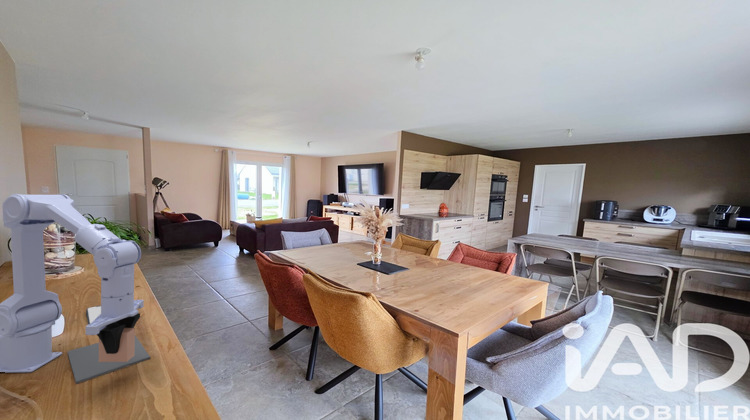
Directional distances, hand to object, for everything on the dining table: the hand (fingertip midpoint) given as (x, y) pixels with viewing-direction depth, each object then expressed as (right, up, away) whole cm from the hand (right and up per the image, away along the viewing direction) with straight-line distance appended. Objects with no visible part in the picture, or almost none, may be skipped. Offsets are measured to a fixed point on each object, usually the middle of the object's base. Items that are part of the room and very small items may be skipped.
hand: (117, 349), depth 67 cm
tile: (0, -2, 0) cm, 2 cm away
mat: (-12, -7, +10) cm, 17 cm away
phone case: (-34, -5, +32) cm, 48 cm away
